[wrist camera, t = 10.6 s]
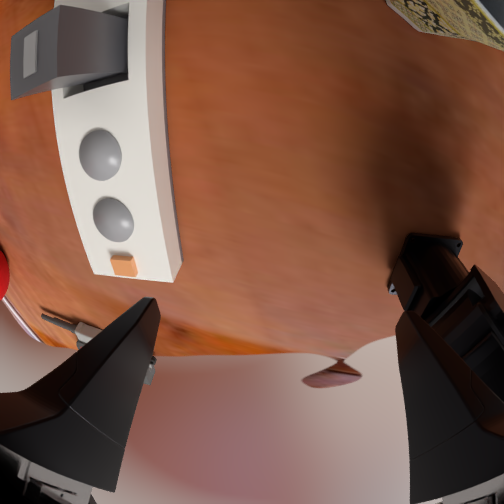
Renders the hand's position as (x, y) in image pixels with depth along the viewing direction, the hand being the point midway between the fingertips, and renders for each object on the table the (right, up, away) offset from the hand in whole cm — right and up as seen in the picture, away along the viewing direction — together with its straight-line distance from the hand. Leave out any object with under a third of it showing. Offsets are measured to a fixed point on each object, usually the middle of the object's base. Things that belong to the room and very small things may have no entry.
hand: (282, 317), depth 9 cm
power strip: (-11, +12, +7) cm, 18 cm away
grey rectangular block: (-11, +16, +4) cm, 20 cm away
